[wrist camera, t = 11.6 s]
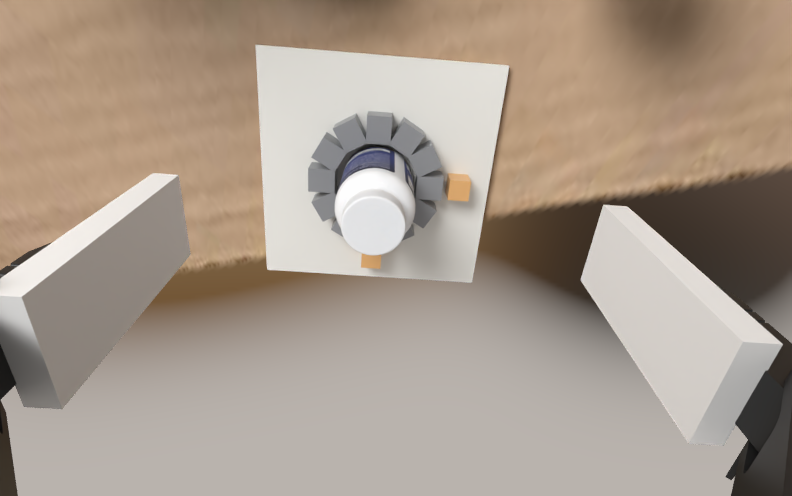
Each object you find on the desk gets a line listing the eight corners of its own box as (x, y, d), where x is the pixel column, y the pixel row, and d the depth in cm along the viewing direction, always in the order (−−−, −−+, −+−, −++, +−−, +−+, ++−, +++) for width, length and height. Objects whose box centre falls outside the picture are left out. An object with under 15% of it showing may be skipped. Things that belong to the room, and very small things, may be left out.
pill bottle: (330, 183, 37) (310, 234, 28) (370, 129, 35) (362, 165, 26) (384, 221, 38) (381, 281, 30) (425, 171, 37) (435, 219, 28)
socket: (257, 44, 33) (248, 46, 31) (507, 65, 34) (515, 68, 32) (268, 266, 41) (261, 280, 39) (471, 279, 42) (475, 293, 39)
